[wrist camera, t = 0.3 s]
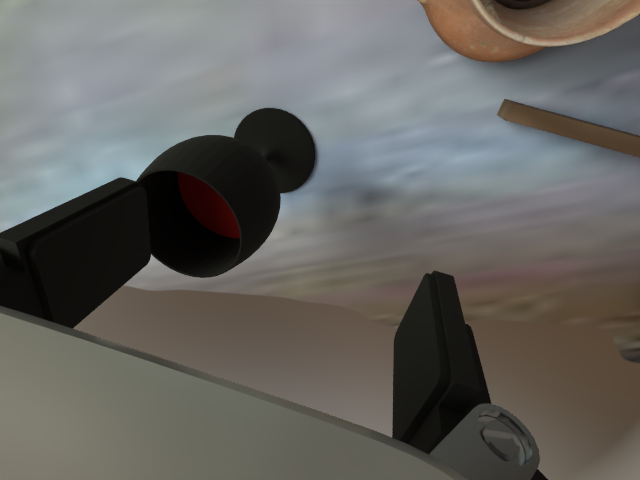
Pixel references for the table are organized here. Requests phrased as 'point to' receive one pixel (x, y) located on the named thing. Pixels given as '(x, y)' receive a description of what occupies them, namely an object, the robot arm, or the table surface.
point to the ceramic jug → (522, 24)
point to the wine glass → (224, 192)
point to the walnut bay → (570, 127)
